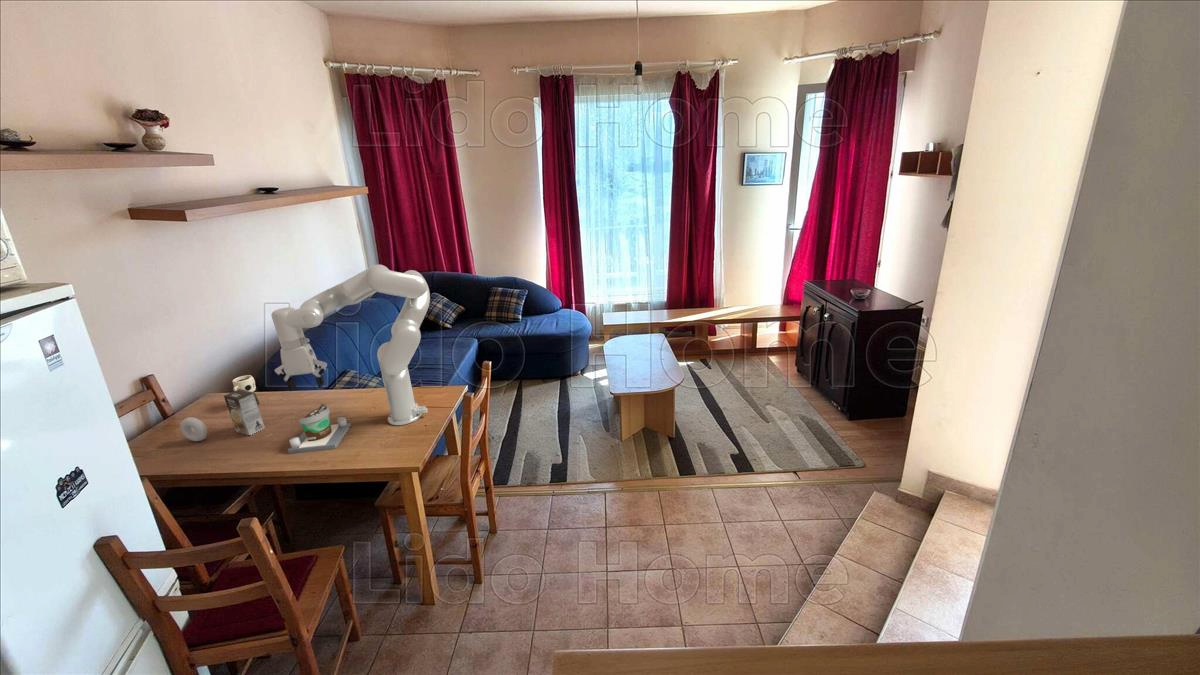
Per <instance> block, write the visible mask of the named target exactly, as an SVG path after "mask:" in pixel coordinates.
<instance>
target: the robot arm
mask: <svg viewBox="0 0 1200 675" xmlns="http://www.w3.org/2000/svg"><path fill="white" fill-rule="evenodd" d="M376 293H380V294H385V295H390V296H396V297H401V298H405V301H404V303H403V306H402V307H401V310H400V312H398V313H399V314H398V315H397V317H396V319H395V321H394V323H393V324H392V326H391V328H390V329H391V330H390V331H391V332H390V333H391V338H390V341H386V342H384V343H382V344H381V345H380V346H379V347H378V349H377V353H376V356H377V361H378V365H379V368H380V374H381V378H382V382H383V385H384V389H385V394H386V395H385V396H386V399H387V404H388V407H389V411H390V415H388V416H387V422H388V424H390V425H392V426H403V425H408V424H411V423H414V422H415V421H417V420H418V419H420V418H421V416H422V415H423V414H424V413H425V414H426V413H428V412H429V411H428V407H427V406H426V405H421V406H420V405H419V404H418V403H419V402H415V395H414V392H413V386H412V382H411V377H410V373H409V372H410V371H409V367H408V366H409V364H410V362H411V360H412V358H413V357H414V355H415V353H416V351H417V349H418V346H419V345H420V342H421V338H422V335H421V330H420V327H421V325H422V323H423V321H424V319H425V317H426V314H427V312H428V310H429V307H430V302H431V293H430V288H429V285H428V283H427V281H426V279H425V277H424V276H423V275H422V273H420V272H418V271H417V270H412V269H409V270H407V271H405V272H400V271H399V272H398V271H394V270H390V269H389V268H388V267H387V266H386V265H383V264H374V265H372V266H369V267H368V268H366V269H364V270H362V271H361V272H359V273H357V274H355V275H354V276H351V277H349V278H348V279H346V280H344V281H342V282H340V283H339V284H338V283H337V285H336V284H335V285H334V286H332V287H330V288H327V289H326V290H323V291H321V292H319V293H318V294H316V295H314V296H312V297H311V298H309V299H307V300H305V301H304V302H303V303H302V304H300V306H299V308H297V309H295V308H294V307H291V306H290V307H282V308H278V309H275V310H273V311H272V312H271V316H270V317H271V320H272V322H273V325H274V330H275V332H276V335H277V339H278V341H279V343H280V347H281V348H280V350H279V351H280V360H281V365H279V366H278V367H277V368H275V369H273V370H274V372H275V373H276V374H277V375H278V377H279V378H281V379H283V380H284V382H286V384H287V388H288V389H289V391H290V392H292V391H294V390H295V389H297V384H296V382H295V379H294V377H293V376H299V375H300V376H301V375H307V374H312V375H314V376H315V380H316V384H317V387H318V388H322V387H323V386H324V384H325V380H324V376H323V374H324V373H325V371H326V370H327V366H328V363H327V362H325V361H322V360H319V359H317V355H316V354H315V351H314V349H313V347H312V345H311V344H310V339H309V338H307V337H306V335H305V333H304V331H303V329H309V328H310V329H312V328H316V327H317V326H318V327H319V326H320V325H321V324H322V322H323V320H324V316H325V315H327V314H330V313H332V311H334V310H336V309H338V308H340V307H343V306H350V305H351V306H352V305H356V304H358V303H360V302H362V301H364V300H365V299H367V298H368V297H371V296H372V295H373V294H376ZM320 367H321V369H320Z"/></svg>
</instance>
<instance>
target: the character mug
mask: <svg viewBox="0 0 1200 675" xmlns="http://www.w3.org/2000/svg"><path fill="white" fill-rule="evenodd" d="M232 384H233V392H234V391H236V390H239V389H242V390H246V391H250V392H253V393H254V396H255V399H256V402H257V405H258V404H260V400H259V398H258V396H257V394H256V393H255V391H256V389H257V387H256V381H255V379H254V377H253V376H252V375H251V374H246V375H241V376H238V377H236V378H234V379H232Z"/></svg>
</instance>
